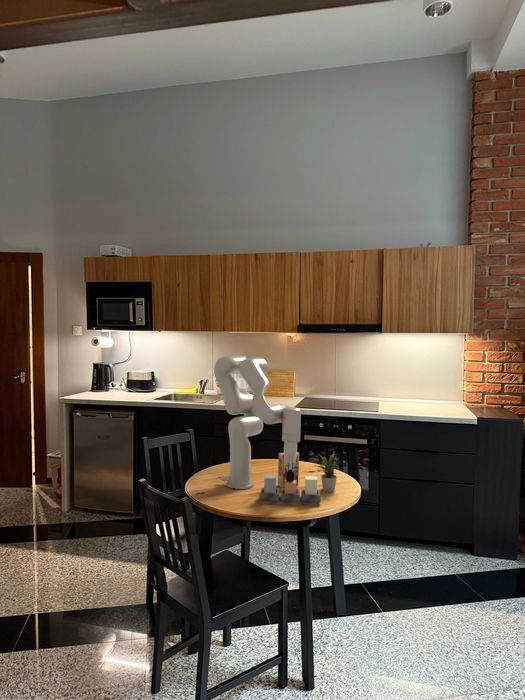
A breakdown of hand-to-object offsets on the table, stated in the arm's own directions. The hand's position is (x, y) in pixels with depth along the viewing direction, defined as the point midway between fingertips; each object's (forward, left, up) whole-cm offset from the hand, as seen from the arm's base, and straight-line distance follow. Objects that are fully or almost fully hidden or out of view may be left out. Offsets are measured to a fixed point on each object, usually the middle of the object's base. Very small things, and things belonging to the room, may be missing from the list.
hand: (290, 480), depth 209 cm
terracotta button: (0, 0, -7) cm, 7 cm away
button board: (0, 0, -9) cm, 9 cm away
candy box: (-1, +21, -9) cm, 23 cm away
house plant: (+17, +18, -9) cm, 26 cm away
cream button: (+9, 0, -5) cm, 10 cm away
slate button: (-8, 0, -5) cm, 10 cm away
